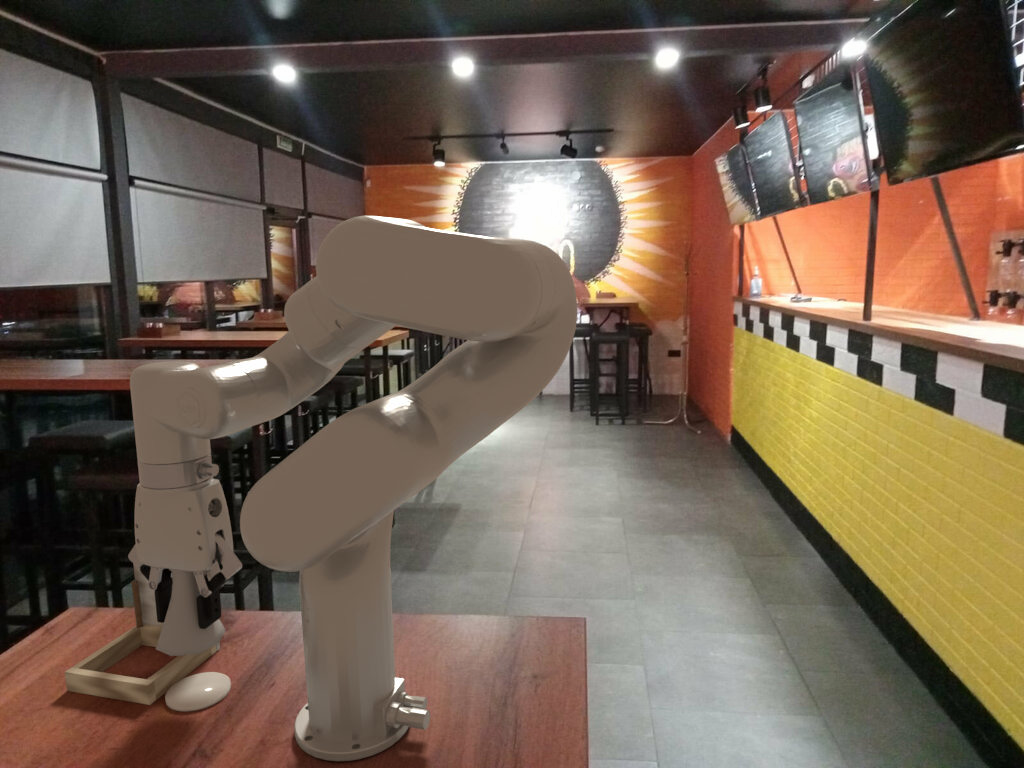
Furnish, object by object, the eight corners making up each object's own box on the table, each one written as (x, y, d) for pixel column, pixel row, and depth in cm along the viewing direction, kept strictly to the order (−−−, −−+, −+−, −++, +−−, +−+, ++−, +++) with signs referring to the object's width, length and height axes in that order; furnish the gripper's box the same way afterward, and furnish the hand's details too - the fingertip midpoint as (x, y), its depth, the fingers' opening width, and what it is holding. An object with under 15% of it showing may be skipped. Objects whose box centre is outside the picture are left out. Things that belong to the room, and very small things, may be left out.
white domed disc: (243, 680, 88) (243, 676, 88) (204, 715, 82) (204, 711, 81) (193, 672, 90) (193, 668, 90) (151, 706, 83) (151, 702, 83)
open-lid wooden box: (220, 648, 96) (212, 563, 94) (149, 704, 84) (139, 609, 82) (145, 637, 99) (135, 555, 97) (67, 690, 87) (54, 598, 85)
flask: (199, 661, 81) (192, 578, 79) (143, 655, 82) (135, 573, 80) (236, 629, 88) (230, 552, 86) (184, 623, 89) (177, 547, 87)
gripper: (261, 467, 83) (271, 613, 86) (138, 457, 87) (152, 597, 90) (219, 487, 75) (232, 646, 79) (87, 475, 80) (104, 626, 83)
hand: (189, 618), depth 84 cm, fingers closed on flask, 5 cm apart
